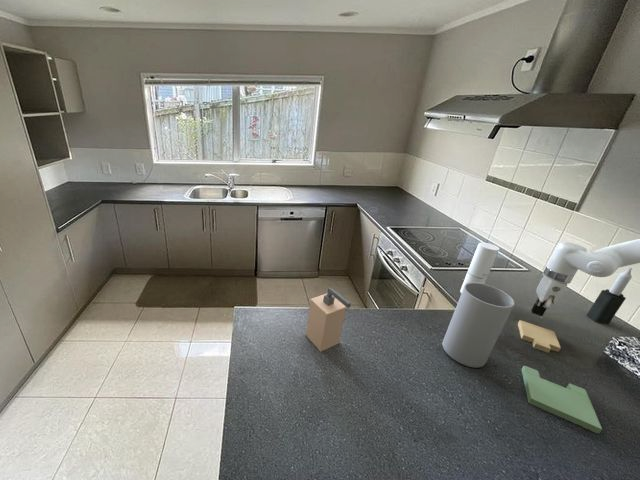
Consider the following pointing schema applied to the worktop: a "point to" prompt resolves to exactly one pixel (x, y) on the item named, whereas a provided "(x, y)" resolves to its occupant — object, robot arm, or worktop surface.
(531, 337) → the small pad
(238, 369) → the worktop surface
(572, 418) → the big pad
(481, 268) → the cylindrical container
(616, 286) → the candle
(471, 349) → the cylinder vase
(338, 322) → the soap dispenser
